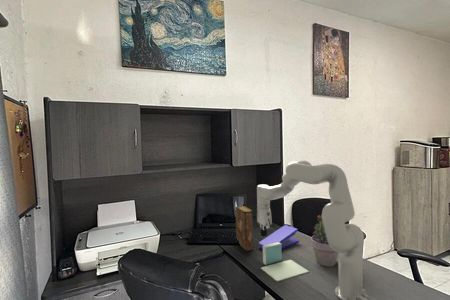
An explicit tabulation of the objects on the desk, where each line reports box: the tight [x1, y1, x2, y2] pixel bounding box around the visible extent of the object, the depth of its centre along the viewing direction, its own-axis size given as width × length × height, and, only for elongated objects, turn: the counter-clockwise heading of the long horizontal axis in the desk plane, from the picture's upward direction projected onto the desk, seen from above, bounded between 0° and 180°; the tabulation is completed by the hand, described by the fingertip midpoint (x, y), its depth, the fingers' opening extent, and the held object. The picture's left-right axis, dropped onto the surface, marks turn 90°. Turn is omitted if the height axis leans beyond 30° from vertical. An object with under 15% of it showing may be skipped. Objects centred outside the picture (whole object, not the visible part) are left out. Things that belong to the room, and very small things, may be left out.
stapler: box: [258, 224, 300, 251], centre depth 171 cm, size 12×28×10 cm, turn 127°
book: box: [234, 205, 254, 251], centre depth 171 cm, size 16×6×25 cm, turn 21°
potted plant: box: [310, 214, 338, 267], centre depth 144 cm, size 18×20×25 cm
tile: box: [262, 242, 283, 266], centre depth 147 cm, size 3×11×10 cm, turn 114°
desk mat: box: [260, 259, 310, 283], centre depth 138 cm, size 15×20×1 cm
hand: (263, 235), depth 155 cm, fingers closed
